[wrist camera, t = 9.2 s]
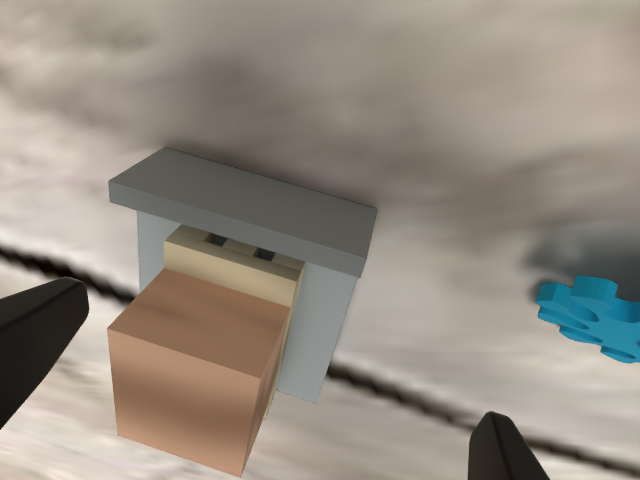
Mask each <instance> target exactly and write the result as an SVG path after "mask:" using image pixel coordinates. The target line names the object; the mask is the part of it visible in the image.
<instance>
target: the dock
mask: <svg viewBox="0 0 640 480" xmlns="http://www.w3.org/2000/svg"><path fill="white" fill-rule="evenodd" d="M108 183H109V196H110V202H111V203H115V204H118V205H121V206H125V207H128V208H131V209H134V210H137V225H138V252H139V279H140V293H141V292H142V291H143V290H144V289H145V288H146V287H147V286H148V284H149V283H150V282H151V281H152V280H153V279H154V278H155V277H156V276H157V275H158V274H159V273H160V272H161V271H162V270H163V269H164V240H165V239H167V238H168V237H169V236H170V235H171V234H172V233H173V232H174V231H175V230H176V229H177V228H178V227H179V226H180V225H181V224H184V225H187V226H190V227H194V228H197V229H200V230H203V231H207V232H210V233H213V234H214V236H213V244H215V245H218V246H221V247H222V246H223V244H224V243H225V242H226V241H227V239H228V238H230V239H233V240H236V241H240V242H243V243H246V244H250V245H253V246H256V247H259V248H260V249H259V255H258V258H260V259H264V260H267V261H270V262H271V261H272V259H273V257H274V255H275V254H276V253H279V254H282V255H286V256H289V257H292V258H296V259H299V260H302V261H305V262H306V266H305V270H304V274H303V279H302V283H301V287H300V291H299V295H298V300H297V304H296V308H295V312H294V316H293V321H292V325H291V329H290V333H289V337H288V342H287V346H286V350H285V354H284V358H283V363H282V367H281V371H280V375H279V380H278V384H277V388H276V391H279V392H282V393H285V394H288V395H291V396H294V397H298V398H301V399H304V400H307V401H310V402H313V403H316V402H317V399H318V396H319V393H320V390H321V387H322V384H323V381H324V378H325V375H326V372H327V369H328V366H329V363H330V360H331V357H332V354H333V351H334V348H335V345H336V342H337V339H338V336H339V333H340V329H341V326H342V323H343V320H344V317H345V314H346V311H347V308H348V305H349V302H350V299H351V296H352V293H353V290H354V287H355V284H356V281H357V278H360V277H361V274H362V271H363V268H364V265H365V262H366V259H367V255H368V250H369V245H370V241H371V236H372V232H373V227H374V223H375V218H376V213H377V209H375V208H372V207H368V206H365V205H361V204H358V203H354V202H351V201H348V200H344V199H341V198H337V197H334V196H330V195H327V194H324V193H320V192H317V191H313V190H310V189H306V188H303V187H300V186H296V185H293V184H289V183H286V182H282V181H279V180H276V179H272V178H269V177H265V176H262V175H258V174H255V173H251V172H248V171H245V170H241V169H238V168H234V167H231V166H227V165H224V164H221V163H217V162H214V161H210V160H207V159H203V158H200V157H197V156H193V155H190V154H186V153H183V152H179V151H176V150H173V149H169V148H166V147H164V148H162V149H161V150H159V151H157V152H156V153H154V154H152V155H151V156H149V157H147V158H146V159H144V160H142V161H141V162H139V163H137V164H136V165H134V166H132V167H131V168H129V169H127V170H126V171H124V172H122V173H121V174H119V175H117V176H116V177H114V178H112V179H111V180H109V181H108Z"/></svg>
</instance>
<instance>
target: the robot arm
mask: <svg viewBox="0 0 640 480" xmlns="http://www.w3.org/2000/svg"><path fill="white" fill-rule="evenodd" d="M88 313H89V302H88V295H87V287H86V285H85V283H84V282H82V281H80V280H77V279H73V278H70V277H63V278H60V279H57V280H54V281H51V282H48V283H45V284H42V285H39V286H36V287H34V288H31V289H28V290H25V291H22V292H19V293H16V294H13V295H10V296H7V297H5V298H2V299H0V430H1V429H2V427H3V426H4V425H5V424H6V423H7V421H8V420H9V419H10V418H11V417H12V416H13V414H14V413H15V412H16V411H17V410H18V409H19V407H20V406H21V405H22V404H23V403H24V402H25V400H26V399H27V398H28V397H29V396H30V395H31V393H32V392H33V391H34V390H35V389H36V388H37V386H38V385H39V384H40V383H41V382H42V380H43V379H44V378H45V377H46V375H47V374H48V373H49V371H50V370H51V369H52V367H53V366H54V364H55V363H56V361H57V360H58V359H59V357H60V356H61V354H62V353H63V351H64V350H65V348H66V347H67V346H68V344H69V343H70V341H71V340H72V338H73V337H74V336H75V334H76V333H77V331H78V330H79V328H80V327H81V326H82V324H83V323H84V321H85V320H86V318H87V316H88ZM468 480H550V479H549V477H548V476H547V474H546V472H545V471H544V469H543V468H542V466H541V465H540V463H539V462H538V460H537V459H536V457H535V455H534V454H533V452H532V451H531V449H530V448H529V446H528V445H527V443H526V441H525V440H524V438H523V437H522V435H521V434H520V432H519V431H518V429H517V428H516V426H515V424H514V423H513V421H512V420H511V419H510V418H509V417H507V416H505V415H502V414H499V413H496V412H493V411H489V412H487V413H486V414H485V415H484V417H483V418H482V419H481V421H480V422H479V424H478V425H477V427H476V428H475V429H474V431H473V432H472V435H471V437H470V442H469V461H468Z"/></svg>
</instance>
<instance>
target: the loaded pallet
mask: <svg viewBox="0 0 640 480" xmlns="http://www.w3.org/2000/svg"><path fill="white" fill-rule="evenodd" d="M213 236H214V234H213V233H210V232H207V231H203V230H200V229H197V228H194V227H190V226H187V225H184V224H181V225H180V226H179V227H178V228H177V229H176V230H175V231H174V232H173V233H172V234H171V235H170V236H169V237H168V238H167V239H165V240H164V269H163V270H162V271H161V272H160V273H159V274H158V275H157V276H156V277H155V278H154V279H153V280H152V281H151V282H150V283H149V284H148V286H147V287H146V288H145V289H144V290H143V291H142V292H141V293H140V294H139V295H138V296H137V297H136V298H135V299H134V300H133V301H132V303H131V304H130V305H129V306H128V307H127V308H126V309H125V310H124V311H123V312H122V313H121V314H120V315H119V316H118V317H117V318H116V320H115V321H114V322H113V323H112V324H111V325H110V326H109V327H108V328H107V332H108V342H109V352H110V362H111V372H112V382H113V392H114V402H115V412H116V422H117V432H118V435H119V436H121V437H124V438H127V439H130V440H133V441H136V442H139V443H142V444H145V445H148V446H150V447H153V448H156V449H159V450H162V451H165V452H168V453H171V454H174V455H176V456H179V457H182V458H185V459H188V460H191V461H194V462H197V463H200V464H202V465H205V466H208V467H211V468H214V469H217V470H220V471H223V472H226V473H228V474H231V475H234V476H237V477H240V478H241V475H242V473H243V470H244V467H245V465H246V462H247V460H248V457H249V454H250V452H251V449H252V446H253V444H254V441H255V438H256V436H257V433H258V431H259V428H260V425H261V423H262V420H265V419H266V416H267V413H268V411H269V408H270V405H271V402H272V400H273V397H274V394H275V392H276V388H277V384H278V380H279V375H280V371H281V367H282V363H283V358H284V354H285V350H286V346H287V342H288V337H289V333H290V329H291V325H292V321H293V316H294V312H295V308H296V304H297V300H298V295H299V291H300V287H301V283H302V279H303V274H304V270H305V266H306V262H305V261H302V260H299V259H296V258H292V257H289V256H286V255H282V254H279V253H276V254H275V255H274V257H273V259H272V261H271V262H270V261H267V260H264V259H260V258H258V255H259V249H260V248H259V247H256V246H253V245H250V244H246V243H243V242H240V241H236V240H233V239H230V238H228V239H227V241H226V242H225V243H224V244H223V246H222V247H221V246H218V245H215V244H213Z"/></svg>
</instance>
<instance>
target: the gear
mask: <svg viewBox="0 0 640 480" xmlns="http://www.w3.org/2000/svg"><path fill="white" fill-rule="evenodd" d="M617 288H618V285H617V284H616V283H614V282H613V281H611V280H608V279H604V278H598V277H589V276H576V279H575V282H574V285H573V288H570V287H568V286H566V285H563V284H561V283H545V284H542V285H541V287H540V290H539V293H538V296H537V299H536V301H535V302H536V303H537V304H539V305H541V306H540V309H539V312H538V318H540V319H542V320H544V321H547V322H550V323H554V324H559V325H561V327H560V330H559V331H560V333H561V334H563V335H564V336H566V337H567V338H569V339H571V340H575V341H578V342H585V343H593V344H598V345H602V348H601V351H600V352H601V353H603V354H605V355H607V356H609V357H611V358H613V359H615V360H618V361H620V362H624V363H633V362H640V302H629V301H625V300H621V299H619V298H616V297H615V295H616V292H617Z"/></svg>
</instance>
